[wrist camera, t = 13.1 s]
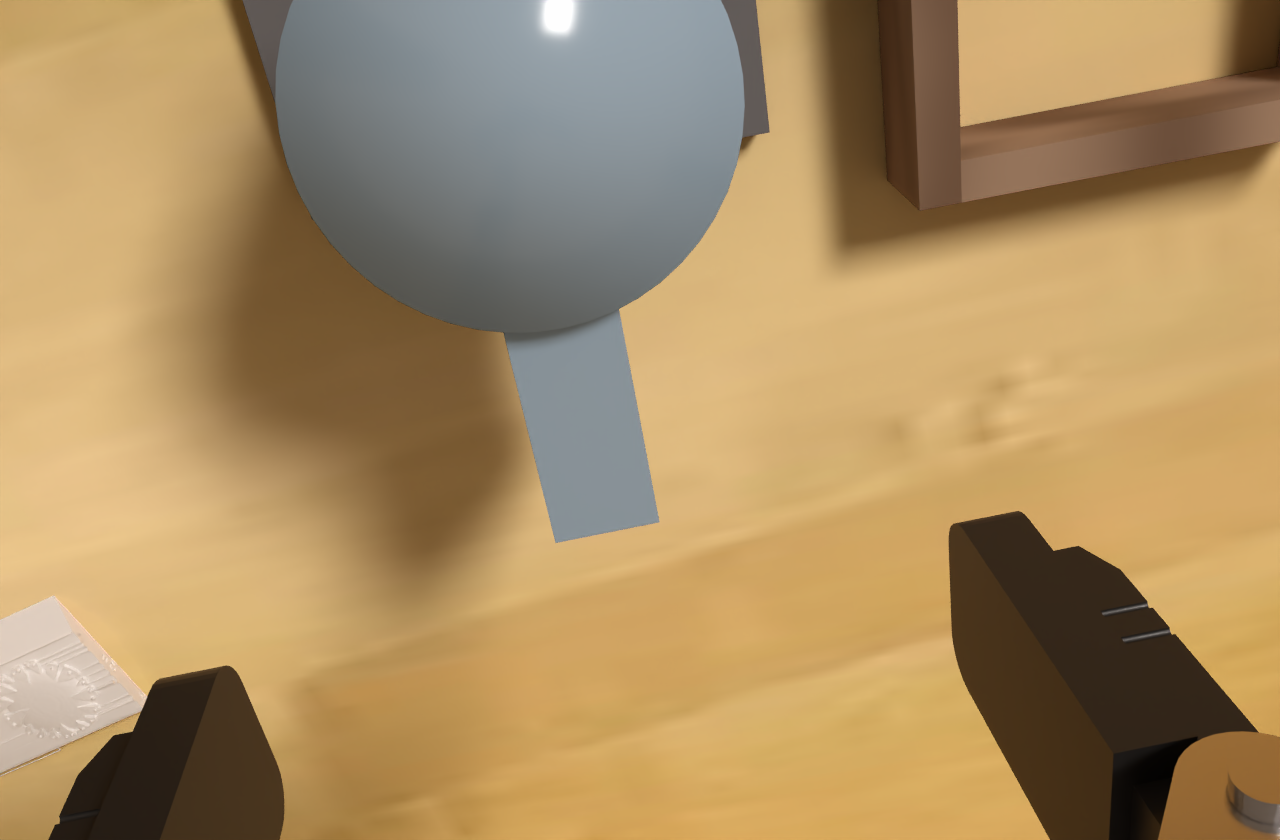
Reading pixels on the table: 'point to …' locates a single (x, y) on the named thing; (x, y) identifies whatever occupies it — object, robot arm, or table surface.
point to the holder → (1042, 120)
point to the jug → (522, 190)
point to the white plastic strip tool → (55, 684)
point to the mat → (272, 3)
